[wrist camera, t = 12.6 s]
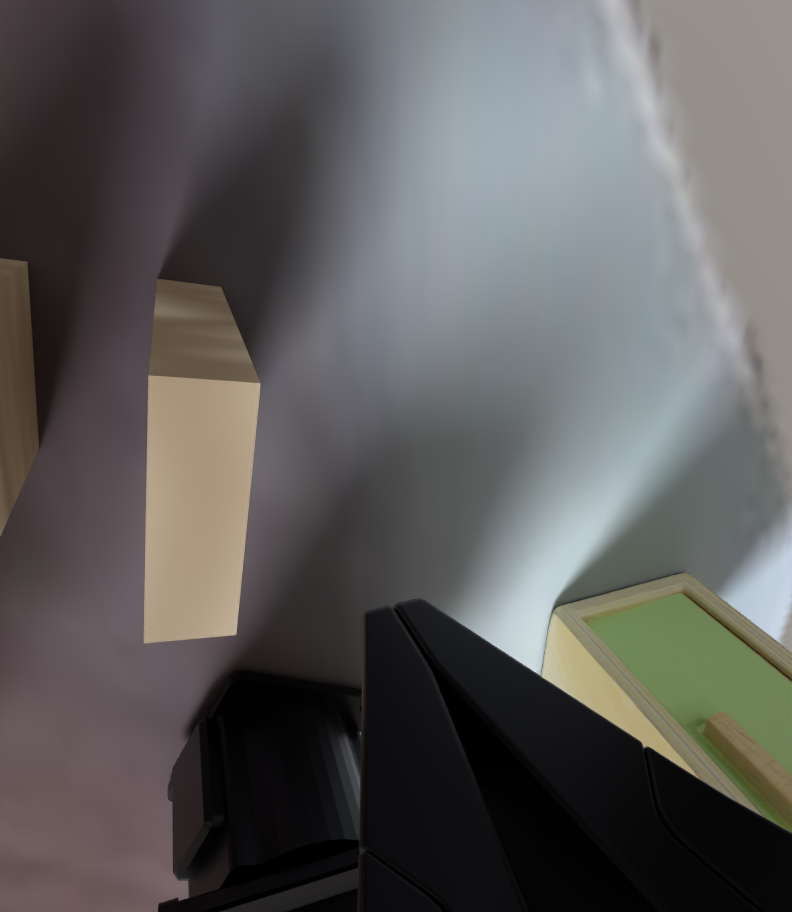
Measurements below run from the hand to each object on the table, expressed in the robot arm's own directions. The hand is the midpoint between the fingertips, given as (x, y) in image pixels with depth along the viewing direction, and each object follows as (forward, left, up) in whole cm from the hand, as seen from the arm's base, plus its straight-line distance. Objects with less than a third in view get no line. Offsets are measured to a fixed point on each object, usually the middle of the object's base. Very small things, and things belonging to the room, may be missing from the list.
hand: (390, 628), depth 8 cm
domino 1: (+2, +1, -11) cm, 11 cm away
